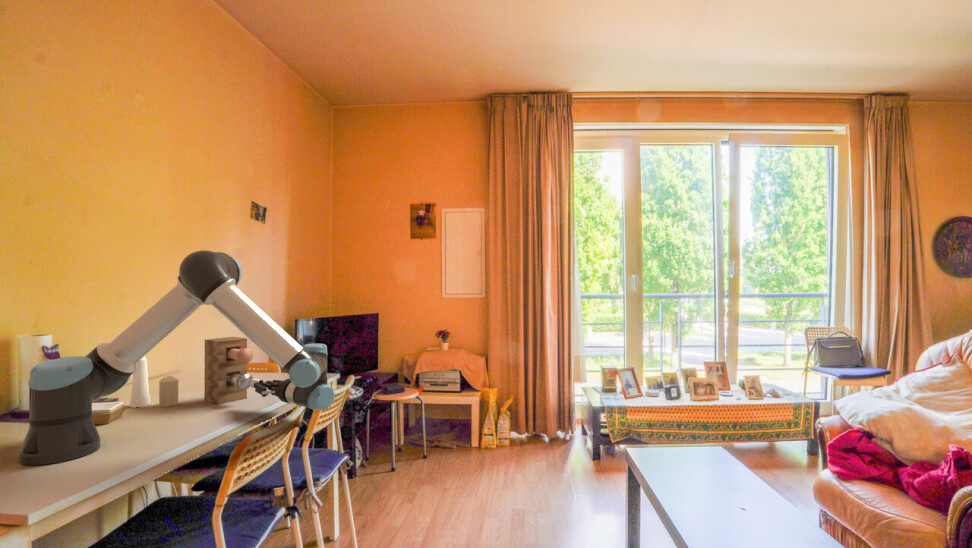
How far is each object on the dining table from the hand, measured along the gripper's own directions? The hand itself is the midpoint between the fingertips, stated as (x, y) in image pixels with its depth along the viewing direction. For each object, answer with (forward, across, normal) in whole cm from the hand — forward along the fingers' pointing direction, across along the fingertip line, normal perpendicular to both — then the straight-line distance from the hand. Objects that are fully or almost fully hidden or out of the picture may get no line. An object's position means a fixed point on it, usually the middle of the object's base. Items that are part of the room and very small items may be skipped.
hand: (253, 383), depth 159 cm
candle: (+27, -15, -8) cm, 32 cm away
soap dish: (+25, -36, -8) cm, 44 cm away
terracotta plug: (+10, 0, +6) cm, 12 cm away
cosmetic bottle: (+35, -20, -8) cm, 41 cm away
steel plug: (+10, 0, -3) cm, 10 cm away
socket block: (+18, 0, -8) cm, 19 cm away
